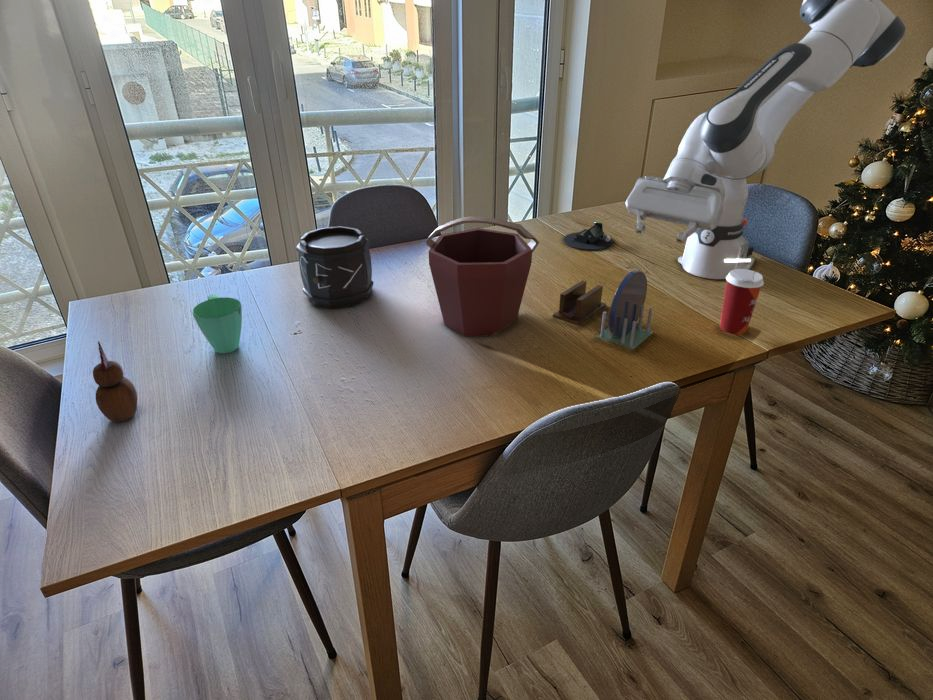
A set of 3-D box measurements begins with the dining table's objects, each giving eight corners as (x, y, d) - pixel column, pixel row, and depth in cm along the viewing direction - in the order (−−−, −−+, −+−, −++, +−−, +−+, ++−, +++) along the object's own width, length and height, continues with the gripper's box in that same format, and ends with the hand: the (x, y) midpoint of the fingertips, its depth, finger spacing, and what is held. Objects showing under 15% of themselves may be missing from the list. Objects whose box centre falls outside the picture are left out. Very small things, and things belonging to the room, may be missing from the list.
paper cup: (753, 341, 135) (768, 283, 128) (716, 338, 137) (730, 280, 129) (746, 324, 142) (761, 268, 135) (712, 322, 143) (724, 266, 136)
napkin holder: (580, 301, 153) (583, 277, 150) (605, 309, 149) (608, 284, 146) (552, 320, 145) (554, 295, 141) (578, 329, 141) (580, 303, 138)
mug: (253, 352, 133) (244, 311, 128) (206, 363, 129) (195, 322, 124) (242, 324, 144) (233, 285, 139) (197, 334, 141) (187, 294, 136)
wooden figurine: (114, 406, 117) (89, 337, 109) (146, 404, 117) (122, 335, 109) (99, 427, 111) (71, 357, 103) (132, 426, 111) (107, 355, 103)
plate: (637, 320, 142) (645, 260, 134) (642, 321, 141) (650, 261, 133) (605, 347, 132) (612, 284, 124) (610, 349, 131) (617, 286, 123)
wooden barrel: (288, 304, 153) (278, 245, 145) (328, 277, 168) (320, 221, 160) (350, 316, 147) (343, 255, 139) (386, 287, 162) (381, 230, 154)
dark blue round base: (601, 254, 180) (603, 236, 177) (555, 244, 187) (556, 227, 184) (620, 238, 191) (622, 221, 188) (575, 230, 198) (577, 213, 195)
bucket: (544, 311, 149) (550, 210, 136) (511, 353, 132) (514, 243, 119) (453, 293, 158) (451, 198, 145) (411, 331, 141) (405, 227, 128)
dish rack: (616, 323, 143) (620, 296, 139) (652, 335, 138) (657, 307, 134) (595, 340, 136) (598, 312, 133) (632, 353, 131) (636, 324, 128)
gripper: (637, 166, 137) (611, 219, 135) (729, 181, 126) (703, 240, 124) (643, 181, 142) (618, 233, 140) (732, 198, 131) (706, 254, 129)
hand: (659, 237), depth 132 cm, fingers open, 8 cm apart
